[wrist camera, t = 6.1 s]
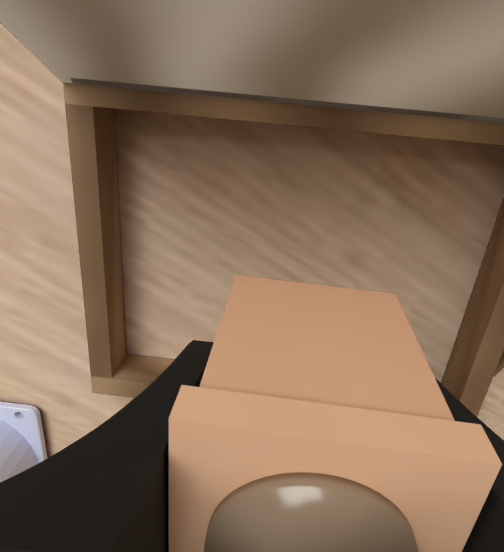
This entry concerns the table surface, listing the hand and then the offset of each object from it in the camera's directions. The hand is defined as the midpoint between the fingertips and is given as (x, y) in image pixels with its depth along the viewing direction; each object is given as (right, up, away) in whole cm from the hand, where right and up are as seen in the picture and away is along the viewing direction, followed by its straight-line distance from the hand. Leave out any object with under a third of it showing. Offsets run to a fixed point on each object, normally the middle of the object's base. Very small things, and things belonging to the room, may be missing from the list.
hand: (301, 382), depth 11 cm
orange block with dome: (0, +1, +1) cm, 2 cm away
